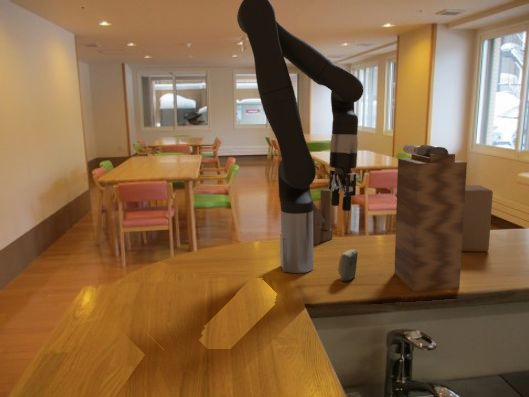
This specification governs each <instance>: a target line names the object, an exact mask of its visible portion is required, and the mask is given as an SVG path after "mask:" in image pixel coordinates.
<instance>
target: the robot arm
mask: <svg viewBox="0 0 529 397" xmlns="http://www.w3.org/2000/svg"><path fill="white" fill-rule="evenodd" d="M274 8H275V7H274V5H273V3H272V2H271V1H270V0H242V2H241V3H240V5H239V8H238V10H237V14H236V16H237V17H236V19H237V21H236V22H237V25H238V26H239V28H240V29H241V31H242V32H243V33H245V34H246V36H247V39H248V42H249V45H250V48H251V50H252V54H253V59H254V68H255V77H256V78H255V79H256V85H257V90H258V95H259V98H260V102H261V105H262V106H261V107H262V110H263V113H264V115H265V117H266V119H267V122H268V123H269V126H270V128H271V130H272V132H273V135H274V136H275V138H276V141H277V144H278V148H279V152H280V157H281V160H280V161H279V165H278V171H277V172H278V174H277V176H278V177H277V179H278V180H277V181H278V198H279V199H278V200H279V203H280V232H281V233H280V236H279V238H280V240H279V245H280V267H281V270H282V272H283V273H290V274H291V273H292V274H303V273H308V272H311V271H312V270H314V263H315V262H314V245H313V205H314V201H313V197H312V193H311V185H312V184H313V183H314V180H315V179H316V173H317V172H316V171H317V170H316V165H315V163H314V160H313V157H312V154H311V151H310V149H309V146H308V143H307V140H306V138H305V137H306V136H305V135H304V131H303V130H304V129H303V124H302V119H301V115H300V110H299V106H298V101H297V98H296V94H295V90H294V86H293V83H292V82H293V81H292V78H291V76H290V72H289V69H288V66H287V63H286V60H287V61H288V62H290V63H291V64H292V65H293V66H294V67H296V68H297V69H298V70H300V72H302V73H303V74H304V75H305V76H307V77H308V78H309V79H311V80H312V81H313V82H314V83H316V84H318V85H319V86H324V87H326V88H327V89H329V91H330V105H331V113H332V122H331V123H332V125H331V138H330V147H329V164H328V165H329V167H330V168H333V169H330V170H329V179H328V180H329V181H328V189H329V190H331V206H332V207H338V206H339V205H340V196H341V195H340V194H341V192H342V203H341V204H342V205H341V206H342V207H341V209H342V211H343V212H349V211H351V210H352V209H351V208H352V198H353V197H355V196H356V195H357V194H356V193H357V192H356V191H357V174H356V173H352V169H354V170H355V169H356V168H357V164H358V162H357V161H358V147H359V146H358V144H359V140H358V130H359V129H358V128H359V118H358V115H357V114H356V113H355V103H356V102H359V100H361V98H362V97H363V94H364V85H363V83H362V81H361V80H360V79H359V78H358V77H357V76H356V75H355V74H353V73H351V72H350V71H348V70H347V69H346V68H343V67H341V66H339V65H338V64H336V63H335V62H334V61H332V60H331V59H330V58H329V57H327V56H326V55H325V54H324V53H322V51H320V50H319V49H318V48H316V47H315V46H314V45H312V44H311V43H309V42H307V41H305V40H303V39H301V38H300V37H298V36H296V35H295V34H293V33H292V32H290V31H289V30H288V29H286V28H285V27H284V26H283V25H282V24H281V23H280V22H279V21H278V20H277V18H276V13H275V9H274Z"/></svg>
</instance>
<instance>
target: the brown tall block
mask: <svg viewBox="0 0 529 397" xmlns="http://www.w3.org/2000/svg"><path fill="white" fill-rule="evenodd" d="M467 166H468V162H467V161H463V160H458V159H456V153H449V154H432V155H430V157H427V156H422V155H417V154H411V156H410V157H407V158H406V157H405V158H404V157H402V158H401V157H400V158H398V159H397V175H396V176H397V178H396V180H397V181H396V182H397V184H396V185H397V186H396V209H395V211H396V212H395V213H396V216H395V239H394V240H395V241H394V242H395V243H394V244H395V247H394V274H395V276H396V277H398V278H399V279H400V280H401V281H402V282H403V283H404V284H405V285H406V286H407V287H409V289H410V290H411V291H412V292H421V291H438V290H439V291H440V290H441V291H442V290H455V289H456V290H459V289H460V288H461V287H460V285H461V283H460V282H461V266H462V252H463V251H462V237H463V220H464V203H465V186H467V185H466V184H467V183H466V182H467Z"/></svg>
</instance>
